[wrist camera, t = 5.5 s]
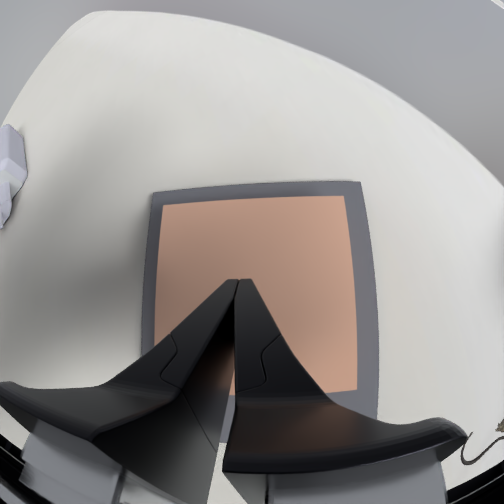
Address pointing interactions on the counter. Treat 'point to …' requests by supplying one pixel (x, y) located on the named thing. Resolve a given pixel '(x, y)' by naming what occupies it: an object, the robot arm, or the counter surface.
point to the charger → (10, 168)
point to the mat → (363, 273)
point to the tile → (268, 273)
